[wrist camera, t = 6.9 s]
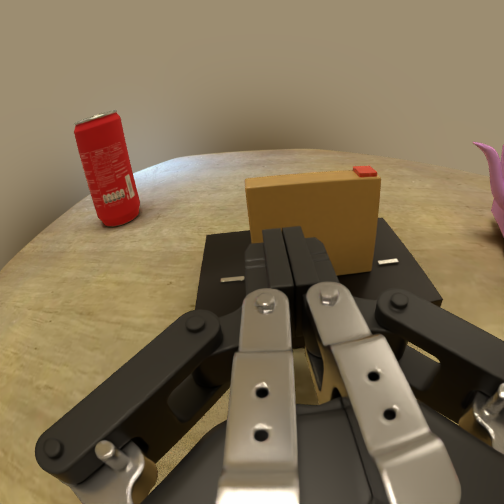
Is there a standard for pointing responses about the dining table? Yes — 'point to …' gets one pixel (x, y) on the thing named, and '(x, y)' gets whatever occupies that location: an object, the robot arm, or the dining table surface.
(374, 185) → the tan slab
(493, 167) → the teapot
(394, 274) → the black slotted base
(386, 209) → the dining table surface
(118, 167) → the beverage can
